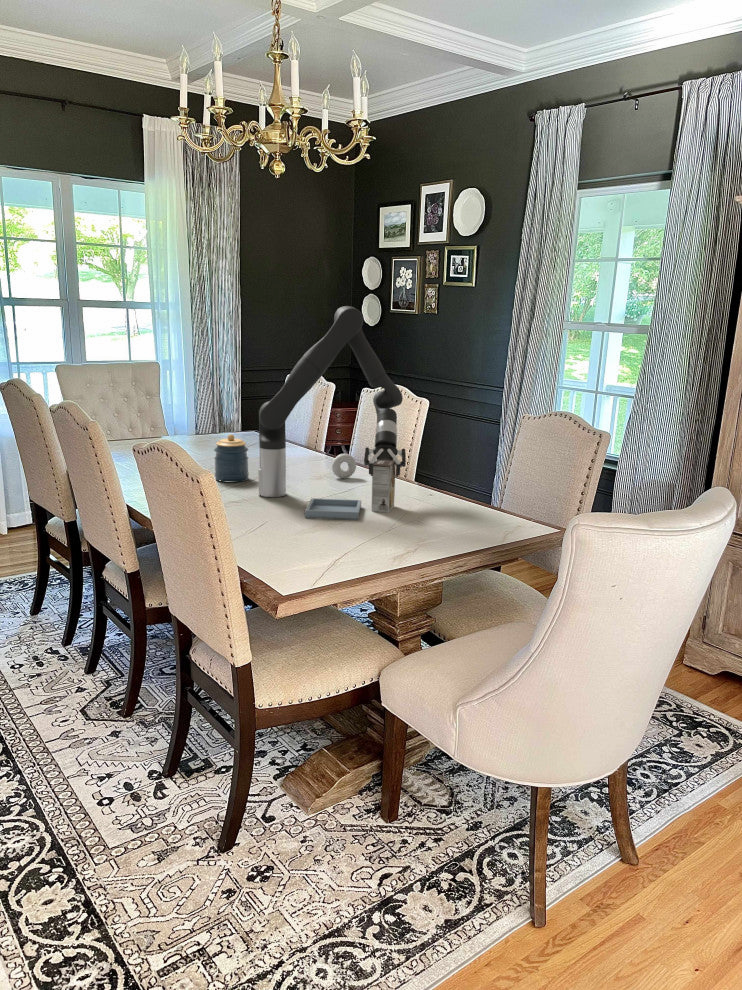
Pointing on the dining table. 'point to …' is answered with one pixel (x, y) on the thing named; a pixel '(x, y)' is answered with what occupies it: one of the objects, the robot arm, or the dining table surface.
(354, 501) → the tray
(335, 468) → the donut
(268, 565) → the dining table surface
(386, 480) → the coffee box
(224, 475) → the canister
